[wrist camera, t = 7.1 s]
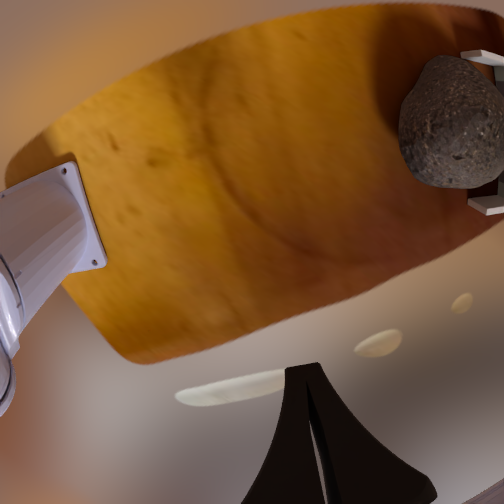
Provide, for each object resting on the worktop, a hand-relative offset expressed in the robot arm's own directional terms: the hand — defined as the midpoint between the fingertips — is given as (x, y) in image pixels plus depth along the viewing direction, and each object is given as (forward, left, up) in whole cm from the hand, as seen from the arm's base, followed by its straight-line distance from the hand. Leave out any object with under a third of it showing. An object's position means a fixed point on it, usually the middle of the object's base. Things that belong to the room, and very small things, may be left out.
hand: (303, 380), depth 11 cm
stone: (+13, +8, -11) cm, 19 cm away
